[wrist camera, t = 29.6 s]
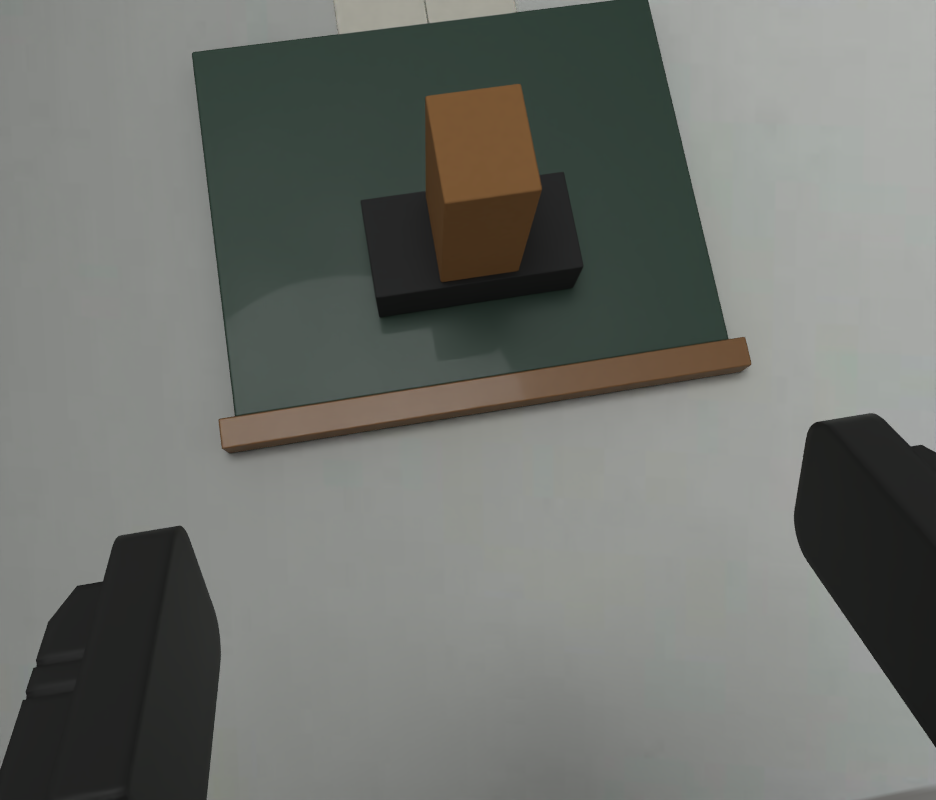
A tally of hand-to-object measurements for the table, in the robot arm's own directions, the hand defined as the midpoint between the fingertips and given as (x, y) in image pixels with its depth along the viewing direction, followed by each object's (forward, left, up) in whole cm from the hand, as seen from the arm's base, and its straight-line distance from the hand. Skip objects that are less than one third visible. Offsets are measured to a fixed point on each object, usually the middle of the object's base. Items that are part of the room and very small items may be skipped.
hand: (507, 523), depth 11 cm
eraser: (+3, +12, -22) cm, 26 cm away
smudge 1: (+1, +25, -24) cm, 34 cm away
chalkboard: (+3, +15, -23) cm, 28 cm away
